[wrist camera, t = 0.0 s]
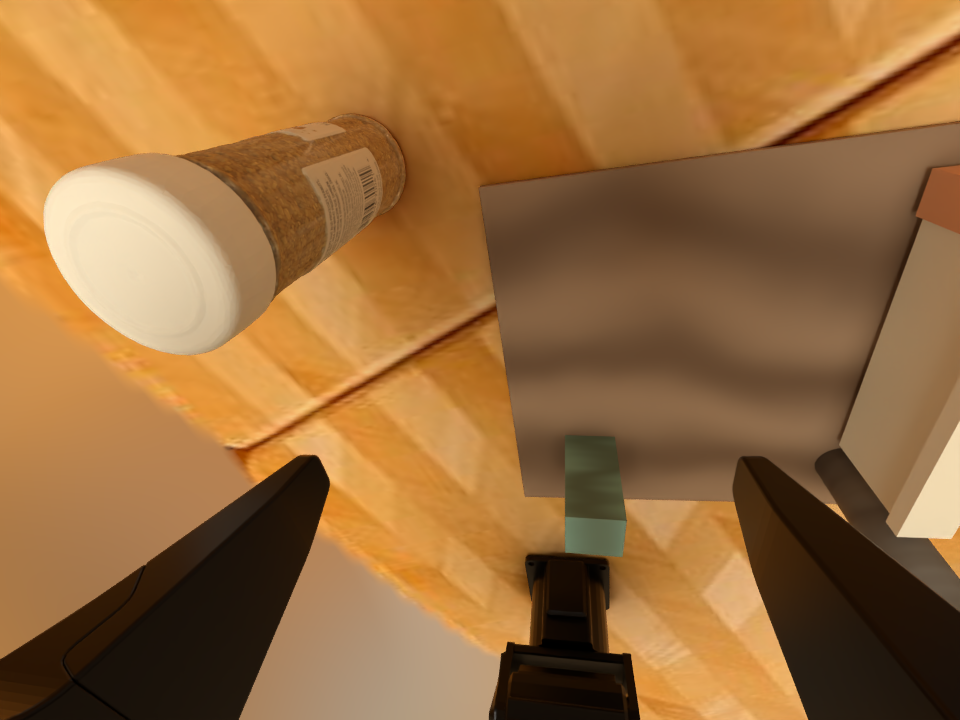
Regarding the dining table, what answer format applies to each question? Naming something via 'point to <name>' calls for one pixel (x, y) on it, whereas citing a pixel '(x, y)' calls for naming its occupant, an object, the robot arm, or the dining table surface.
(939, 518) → the orange and cream block
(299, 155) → the sprinkles bottle
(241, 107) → the dining table surface
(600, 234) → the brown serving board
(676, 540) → the dining table surface
